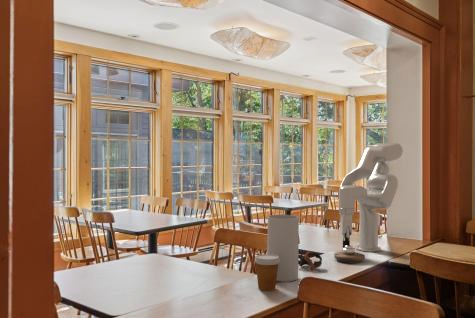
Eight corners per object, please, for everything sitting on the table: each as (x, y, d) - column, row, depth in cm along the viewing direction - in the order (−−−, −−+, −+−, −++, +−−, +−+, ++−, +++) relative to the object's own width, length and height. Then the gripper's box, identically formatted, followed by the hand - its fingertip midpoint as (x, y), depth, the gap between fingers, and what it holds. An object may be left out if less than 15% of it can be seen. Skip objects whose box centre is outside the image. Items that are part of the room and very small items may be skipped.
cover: (341, 252, 225) (341, 244, 225) (353, 252, 225) (354, 244, 225) (343, 254, 219) (343, 246, 219) (356, 255, 219) (356, 247, 219)
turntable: (332, 256, 227) (332, 250, 227) (361, 257, 226) (361, 251, 226) (336, 263, 213) (336, 257, 213) (367, 264, 212) (367, 258, 212)
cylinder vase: (296, 283, 180) (297, 219, 180) (265, 281, 182) (265, 218, 182) (299, 275, 192) (299, 215, 192) (269, 273, 195) (269, 214, 194)
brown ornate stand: (316, 266, 210) (322, 252, 207) (318, 280, 202) (324, 266, 198) (291, 259, 210) (297, 245, 206) (291, 273, 201) (298, 259, 198)
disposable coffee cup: (272, 293, 166) (272, 260, 166) (249, 289, 171) (249, 257, 171) (283, 287, 174) (284, 255, 174) (261, 283, 179) (262, 252, 179)
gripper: (337, 209, 237) (336, 245, 237) (340, 213, 222) (340, 251, 223) (352, 209, 237) (351, 245, 237) (356, 213, 222) (356, 251, 222)
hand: (346, 248), depth 230 cm, fingers closed
